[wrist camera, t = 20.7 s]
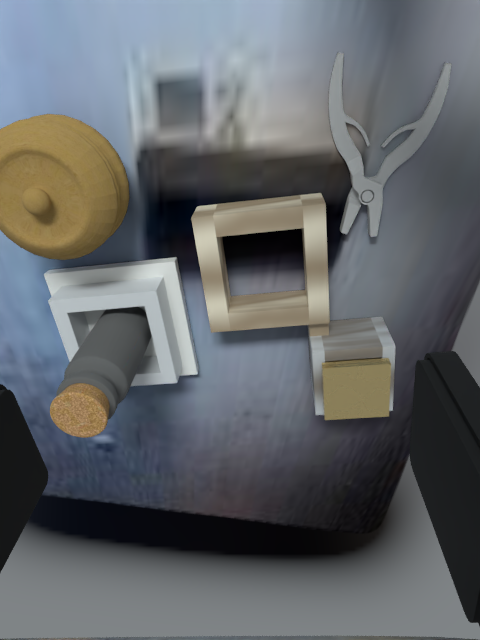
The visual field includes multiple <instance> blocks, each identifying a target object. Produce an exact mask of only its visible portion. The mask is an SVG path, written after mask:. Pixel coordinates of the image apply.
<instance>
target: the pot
mask: <svg viewBox="0 0 480 640" xmlns="http://www.w3.org/2000/svg"><path fill="white" fill-rule="evenodd" d="M128 202H129V182H128V178H127V175H126V171H125V168H124V165H123V163H122V161H121V159H120V157H119V155H118V153H117V152H116V151H115V149H114V148H113V147H112V145H111V144H110V143H109V141H108V140H107V139H106V138H105V137H103V136H102V135H101V134H100V133H99V132H98V131H97V130H95V129H94V128H92V127H90V126H89V125H87V124H85V123H83V122H82V121H80V120H77V119H74V118H71V117H68V116H65V115H54V114H46V115H40V116H34V117H31V118H29V119H24V120H19V121H17V122H14V123H12V124H10V125H8V126H6V127H4V128H2V129H0V230H1V231H2V232H3V233H4V234H5V235H6V236H7V237H8V238H9V239H10V240H12V241H13V242H14V243H16V244H17V245H18V246H20V247H21V248H23V249H25V250H27V251H29V252H31V253H33V254H35V255H38V256H42V257H45V258H49V259H59V260H67V259H74V258H79V257H82V256H84V255H87V254H90V253H91V252H93V251H94V250H95V249H97V248H98V247H99V246H101V245H102V244H103V243H104V242H105V241H106V240H107V239H108V238H109V237H110V236H112V235H113V234H114V232H115V231H116V230H117V229H118V227H119V226H120V225H121V223H122V221H123V219H124V217H125V215H126V212H127V208H128Z"/></svg>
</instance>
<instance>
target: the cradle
mask: <svg viewBox="0 0 480 640" xmlns="http://www.w3.org/2000/svg"><path fill="white" fill-rule="evenodd" d="M44 276H45V279H46V282H47V285H48V287H49V290H50V293H51V296H52V297H51V298H50V299H49V300H48V302H49V305H50V307H51V310H52V313H53V316H54V319H55V322H56V324H57V327H58V330H59V333H60V336H61V338H62V341H63V344H64V347H65V350H66V352H67V355H68V358H69V361H71V360H72V358H73V357H74V355H75V354H76V352H77V351H78V349H79V348H80V346H81V345H82V343H83V342H84V340H85V339H86V337H87V336H88V334H89V333H90V331H91V330H92V328H93V327H94V325H95V324H96V322H97V321H98V320H99V318H100V317H101V315H102V314H103V313H104V311H105V310H106V309H116V308H127V307H139V308H141V309H142V310H144V311H145V312H146V314H147V318H148V322H149V327H150V331H151V335H152V337H151V339H150V342H149V344H148V347H147V349H146V352H145V354H144V356H143V359H142V361H141V363H140V366H139V368H138V370H137V373H136V375H135V377H134V379H133V382H132V384H131V386H142V385H156V384H170V383H177V382H178V379H179V376H183V375H197V374H198V370H199V367H198V362H197V357H196V352H195V347H194V342H193V337H192V332H191V327H190V322H189V316H188V311H187V306H186V301H185V296H184V291H183V286H182V281H181V276H180V271H179V266H178V261H177V257H175V258H164V259H154V260H144V261H134V262H124V263H114V264H104V265H94V266H83V267H73V268H63V269H53V270H48V271H47V272H46V273H45V274H44Z"/></svg>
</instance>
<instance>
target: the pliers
mask: <svg viewBox="0 0 480 640" xmlns="http://www.w3.org/2000/svg"><path fill="white" fill-rule="evenodd" d="M343 58H344V53H337V56H336V60H335V63H334V66H333V70H332V74H331V78H330V86H329V97H328V109H329V120H330V128H331V132H332V136H333V139H334V142H335V145H336V147H337V150H338V151H339V152H340V154H341V155H342V157H343V158H344V160H345V161H346V163H347V166H348V169H349V171H350V177H351V184H352V188H351V190H350V193H349V195H348V198H347V202H346V205H345V209H344V213H343V217H342V221H341V225H340V231H341V233H344V234H347V233H348V231H349V229H350V227H351V225H352V223H353V221H354V219H355V217H356V215H357V213H358V211H359V209H360V207H361V203H362V204H364V205H367V221H368V234H369V235H370V237H375V236H377V233H378V228H379V222H380V216H381V211H382V205H383V187H384V185H385V183H386V181H387V179H388V177H389V176H390V175H391V174H392V173H393V172H394V171H395V169H396V168H397V167H398V166H400V165H401V164H402V163H404V162H405V161H406V160H408V159H409V158H410V157H411V156H412V155H413V154H414V153H415V152H416V151H417V150H418V148H419V147H420V146H421V145H422V143H423V142H424V140H425V139H426V138H427V136H428V134H429V133H430V131H431V129H432V127H433V126H434V124H435V122H436V120H437V118H438V116H439V113H440V111H441V108H442V106H443V103H444V100H445V97H446V93H447V90H448V84H449V79H450V72H451V64H452V63H444V65H443V68H442V71H441V74H440V77H439V80H438V82H437V85H436V87H435V90H434V92H433V95H432V97H431V99H430V101H429V103H428V105H427V107H426V109H425V111H424V113H423V115H422V117H421V118H420V119H419V120H417V121H415V122H413V123H410V124H407V125H405V126H403V127H401V128H399V129H398V130H396V131H394V132H393V133H392V134H391V135H390V136H389V137H388V138H387V139H386V140H385V141H384V143H383V144H382V145H381V146H382V147H383V148H384V147H385V146H386V145H387V144H388V143H389V142H390V141H391V140H392V139H393V138H394V137H395V136H396V135H398V134H399V133H401V132H403V131H405V130H410V129H414V130H413V131H412V132H411V134H410V135H409V136H408V138H407V139H406V140H404V141H403V142H402V143H401V144H400V145H399V146H398V147H397V148H395V149H394V150H393V151H392V152H391V153H389V154H388V155H387V156H386V157H385V159H384V161H383V163H382V165H381V167H380V169H379V171H378V173H377V175H376V176H373V177H368V178H367V177H364V167H363V162H362V157H361V154H360V152H359V151H358V149H357V147H356V146H355V144H354V143H353V141H352V139H351V137H350V135H349V133H348V131H347V127H346V124H345V122H347V123H350V124H352V125H354V126H355V127H356V128H357V129H358V130H360V132H361V134H362V136H363V137H364V140H365V142H366V145H367V146H369V145H370V143H369V140H368V137H367V135H366V133H365V131H364V129H363V128H362V127H361V126H360V125H359V124H358V123H357V122H356V121H355V120H353V119H352V118H350V117H349V116H347V115H346V113H345V112H344V111H343V101H342V72H343Z"/></svg>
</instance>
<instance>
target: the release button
mask: <svg viewBox="0 0 480 640" xmlns="http://www.w3.org/2000/svg"><path fill="white" fill-rule="evenodd" d="M390 379H391V362H390V360H389V358H381V359H379V358H365V359H351V360H337V361H325V363H322V384H323V406H324V418H325V420H337V419H353V418H370V417H387V416H389V404H390Z"/></svg>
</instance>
